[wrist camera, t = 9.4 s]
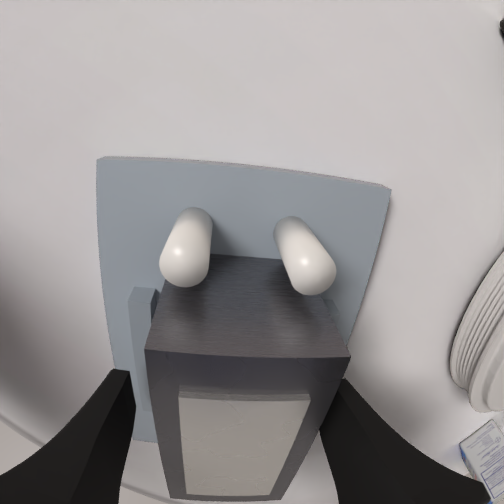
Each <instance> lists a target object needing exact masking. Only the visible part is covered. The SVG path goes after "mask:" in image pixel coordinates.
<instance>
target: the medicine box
mask: <svg viewBox="0 0 504 504" xmlns="http://www.w3.org/2000/svg"><path fill="white" fill-rule="evenodd" d="M460 448H461V453H462V458H463V461H464V463H465V465H466V467H467V469H468V471H469V472H470V474H471V476H472V478H473V479H474V480H477V481H480V482H483V484H484V485H485V487H486V489H487V491H488V493H489V495H490V497H491V500H490V502H489V503H487V504H496V503H498V502H499V501H501V500H502V499H504V435H503V433H502V432H501V430H500V429H499V427H498V426H497V425H496V423H495V422H494V421H493V420H490V421H489V422H488V423H486V424H485V425H484V426H482V427H481V428H480V429H478V430H477V431H476V432H474V433H473V434H472V435H470V436H469V437H468V438H466V439H465V440H463V441H462V442H460Z"/></svg>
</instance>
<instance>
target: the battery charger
mask: <svg viewBox="0 0 504 504" xmlns="http://www.w3.org/2000/svg"><path fill="white" fill-rule="evenodd" d="M500 27H501V29H502V31H503V33H504V17H502V20H501V21H500Z"/></svg>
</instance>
